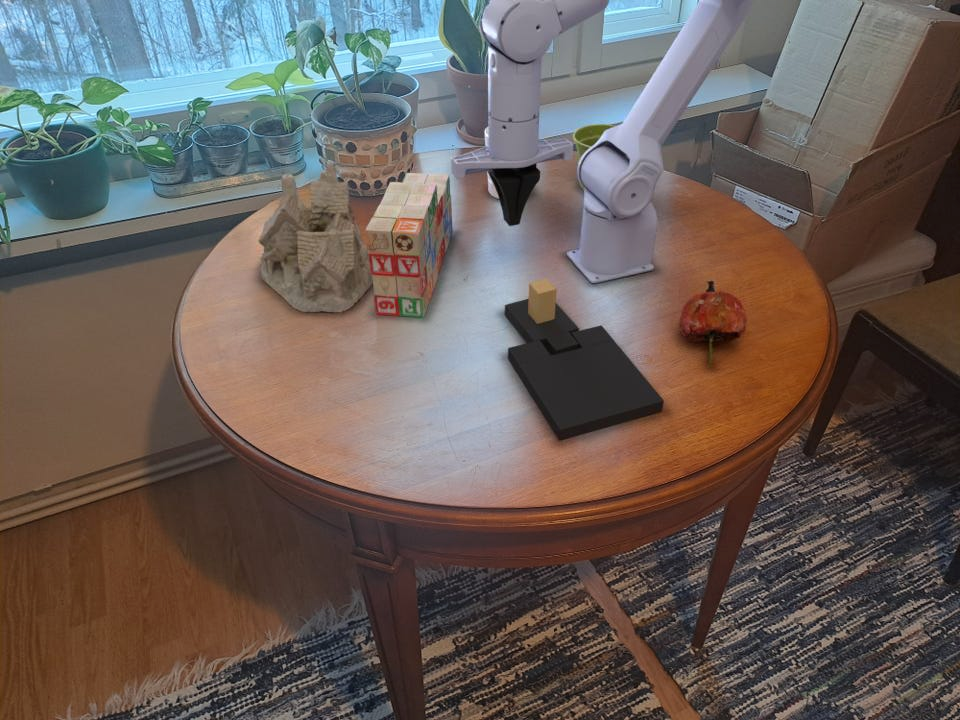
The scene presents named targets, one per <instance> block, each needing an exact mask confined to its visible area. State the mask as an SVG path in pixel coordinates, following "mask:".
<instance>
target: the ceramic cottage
mask: <svg viewBox="0 0 960 720" xmlns="http://www.w3.org/2000/svg"><path fill="white" fill-rule="evenodd" d="M280 182H281V191H282V196H283V197H281V199H280V201H279V205H278V207H277V208H276V209H275V210H274V212H273V214H272V215H271V216H270V217H269V218H268V219H267V220H266V221H265V222H264V226H263V229H262V232H261V234H260V235H259V238H258V239H257V240H258V243H259V244H260V245H261V246H262V247H263V253H262V254H261V257H260V261H261V262H260V277H261V280H262V281H264V283H265V284H266V285H268V287H270V288H271V289H272V290H273V291H274V292H276V293H277V294H278V295H280V296H281V298H283V299H284V300H285V301H286V302H287V303H288V304H289V305H290V306H291V308H293V309H295V310H298V311H300V312H302V313H311V314H312V313H314V314H315V313H316V312H317V313H320V312H327V313H333V314H334V313H335V314H336V313H343V312H346V311H348V310H350V309H351V308H352V307H354V306H355V304H357V303H358V302H359V300H360V299H362V297H363V296H364V294H365V293H366V292H367V291H368V290H369V289H370V288H371V287H372V285H373V282H372V274H371V269H370V263H369V251H368V247H367V246H366V245H365V243H364V241H363V238H362V232H361V230H360V228H359V226H358V224H357V223H356V222H355V219H356V214H355V212H354V210H353V206H352V199H351V195H350V192H349V184H348V182H347V181H339V178H338V176H337V173H336V168H335V163H334V161H332V160H327V161H326V167H325V168H323V169H322V170H321V172H320V176H319V179H318V180H310V181H309V182H310V185H309V186H310V190H309V194H310V206H309V207H308V206H307V205H306V204H305V203H304V202H303V201H301V200H300V198H299V192H298V188H297V183H296V180H295V177H294V175H293V174H291V173H284V174H282V175H281V181H280Z"/></svg>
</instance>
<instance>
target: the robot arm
mask: <svg viewBox="0 0 960 720" xmlns="http://www.w3.org/2000/svg"><path fill="white" fill-rule="evenodd" d="M610 1H611V0H489V1H488V4H487V5H486V6H485V8H484V11H483V14H482V18H481V19H479V20H478V28H479V31H480V34H481V36H482V38H483V39H484V41H485V42H486V43H487V45H488V70H487V74H488V75H487V93H488V94H487V96H488V97H487V112H488V113H487V114H488V115H487V116H488V117H487V119H488V120H487V121H488V122H487V124H488V126H487V127H488V146H485V145H484V146H483V147H480V148H478V149H475V150H471V151H469V152H466V153H463V154H459V155H454V156H450V165H451V166H450V167H451V174H452V175H453V176H454V178H455V179H456V180H462V179H465V178H466V176H470V175H475V174H482V173H487V172H488V174H489V176H490V178H491V180H492V182H493V184H494V186H495V188H496V191H497V194H498V196H499V199H498V200H499V202H500V206H501V211H502V216H503V221H504V222H505V223H506V224H507V225H508V226H509V227H513V226H518V225H520V223H521V220H522V216H523V213H524V211H525V207H526V204H527V202H528V200H529V198H530V197H531V194H532V192H533V190H534V189H535V187H536V186H537V184H538V183H539V181H540V179H541V170H540V169H539V168H538V167H537V164H540V163H545V162H551V161H557V160H563V162H566V161H572V160H573V155H574V154H573V153H574V144H573V143H572V142H571V141H570V140H569V139H567V137H566V138H557V139H539V134H540V111H541V108H540V107H541V91H542V90H541V88H542V87H541V85H542V61H543V56H545V54H546V53H547V51H548V50H549V48H550V47H551V45H552V42H553V41H554V39H555V38H556V37H558V36H560V35H561V34H563V33H565V32H567V31H568V30H570V29H572V28H574V27H575V26H577V25H579V24H581V23H583V22H585V21H586V20H588V19H590V18H592V17H593V16H595V15H597V14H599V13H600V12H601V13H602V12H603V11H604V10H606V9H607V7H608V5H609V3H610ZM755 2H756V0H698V2H697V3H696V5H695V7H694V9H693V10H692V12H691V13H690V15H689V16H688V18H687V20H686V21H685V23H684V24H683V26H682V28H681V29H680V31H679V33H678V34H677V36H676V37H675V39H674V41H673V42H672V44H671V45H670V46H669V49H668V50H667V52H666V53H665V55H664V56H663V58H662V60H661V62H660V63H659V65H658V66H657V68H656V70H655V71H654V72H653V75H652V76H651V77H650V79H649V80H648V82H647V84H646V85H645V86H644V88H643V91H642V92H641V93H640V95H639V97H638V98H637V100H636V101H635V103H634V104H633V105H632V108H631V109H630V111H629V113H628V114H627V116H626V117H625V118H624V121H623V122H622V123H620V124H618V125H615V127H612V128H610V129H608V130H606V131H604V133H603V134H602V136H601V137H600V139H599V140H598V141H597V142H596V143H595V144H594V145H593V146H592V147H590V148H589V149H588V150H587V151H586V152H585V153H584V154H583V155H582V157H581V159H580V161H579V163H577V167H576V175H577V179H578V181H579V184H580V183H581V184H582V185H583V186H584V187H585V189H584V191H583V196H584V197H583V206H582V207H583V208H582V218H581V228H580V229H581V231H580V241H579V248H578V249H573V250H569V251H567V252H566V257H568V258H569V260H570V261H571V262H572V263H573V264H574V265H575V267H577V269H578V270H579V271H580V273H582V274H583V275H584V277H585V278H586V279H587V280H588V281H589V282H590V283H591V284H598V283H602V282H607V281H612V280H616V279H621V278H624V277H629V276H633V275H638V274H642V273H645V272H652V271H654V268H655V265H653V264H652V260H653V254H654V248H655V243H656V237H657V232H658V231H657V230H658V216H657V212H656V209H655V207H654V205H653V203H652V199H653V196H654V194H655V190H656V186H657V183H658V181H659V180H660V177H661V176H662V174H663V173H664V170H665V169H664V161H663V155H662V146H663V144H664V143H665V141H666V140H667V138H668V137H669V135H670V134H671V132H672V131H673V130H674V128H675V126H676V125H677V123H678V122H679V120H680V119H681V117H682V115H683V114H684V112H685V111H686V110H687V108H688V106H689V105H690V103H691V102H692V100H693V99H694V98H695V96H696V94H697V93H698V91H699V90H700V88H701V87H702V85H703V83H704V82H705V81H706V79H707V78H708V76H709V74H710V73H711V71H712V70H713V69H714V67H715V65H716V64H717V62H718V61H719V59H721V56H722V54H723V53H724V51H726V49H727V47H728V46H729V44H730V42H731V41H732V39H733V38H734V37H735V35H736V33H737V32H738V30H739V29H740V28H741V26H742V24H743V23H744V22H745V20H746V18H747V17H748V15H749V14H750V13H751V11H752V9H753V7H754V4H755Z"/></svg>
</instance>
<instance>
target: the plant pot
mask: <svg viewBox="0 0 960 720" xmlns="http://www.w3.org/2000/svg"><path fill="white" fill-rule="evenodd" d="M615 126H616V125H615V124H607V123H606V124H605V123H593V124H588V125H585V126H581V127H578V128H577V129H575V131H574V132H573V134H572V139H573V141H574V142H575V148H576V153H577V162H578V163H579V161H580V159H581V157H582V155H583V154H584V153H585V152H586V151H587V150H588V149H589V148H590V147H592V146H593V145H594V144H595V143H596V142H597V141H598V140H599V139H600V137H601V136H602V134H603V133H604V131H606V130H608V129H610V128H612V127H615ZM578 163H577V164H578ZM579 186H580V187H581V189H582V191H583V192H584V189H585V187H584V186H583V185H582V184H581V183H580V182H579Z"/></svg>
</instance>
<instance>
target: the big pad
mask: <svg viewBox="0 0 960 720" xmlns="http://www.w3.org/2000/svg"><path fill="white" fill-rule="evenodd" d="M571 335H572V337H573V338H574V339H575V340H576V341H577V342H578V343H579V346H578V349H576V350H572V351H568V352H564V353H560V354H556V355H552V356H551V355H550V354H549V352H548V351H547V350H546V348H545V347H544V345H543V344H542V343H541V341H540V340H539V341H535V342H530V343H527V342H525V343H523V344H518V345H514V346H511V347H508V348H507V359H508V361H509V363H510V364H511V366H512V367H513V369H514V371H515V373H516V374H517V376H518V377H519V379H520V380H521V382H522V383H523V385H524V386H525V388H526V390H527V392H528V393H529V395H530V396H531V398H532V399H533V401H534V403H535V404H536V406H537V407H538V409H539V410H540V412H541V414H542V415H543V416H544V419H545V420H546V422H547V424H548V425H549V427H550V428H551V430H552V431H553V433H554V434H555V436H556V438H557V439H558V441H564V440H567V439H570V438H573V437H577V436H580V435H584V434H588V433H591V432H594V431H598V430H601V429H605V428H609V427H612V426H616V425H619V424H622V423H626V422H629V421H633V420H636V419H637V420H638V419H640V418H643V417H648V416H651V415H654V414H658V413H661V412H662V411H663V407H664V402H665V400H664V399H663V398H662V396H661V395H660V394H659V393H658V392H657V390H656V389H655V388H654V387H653V386H652V384H651V383H650V382H649V380H648V379H647V378H646V377H645V376H644V375H643V373H642V372H641V371H640V370H639V368H638V367H637V366H636V365H635V364H634V363H633V361H632V360H631V359H630V358H629V357H628V355H627V354H626V353H625V352H624V351H623V349H622V348H621V347H620V346H619V345H618V344H617V342H616V341H615V339H614V338H613V337H612V336H611V335H610V334H609V332H608V331H607V330H606V329H605V328H604V326H603V325H601V324H600V325H596V326H593V327H589V328H585V329H581V330H580V329H579V331H576V332H572V333H571Z"/></svg>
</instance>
